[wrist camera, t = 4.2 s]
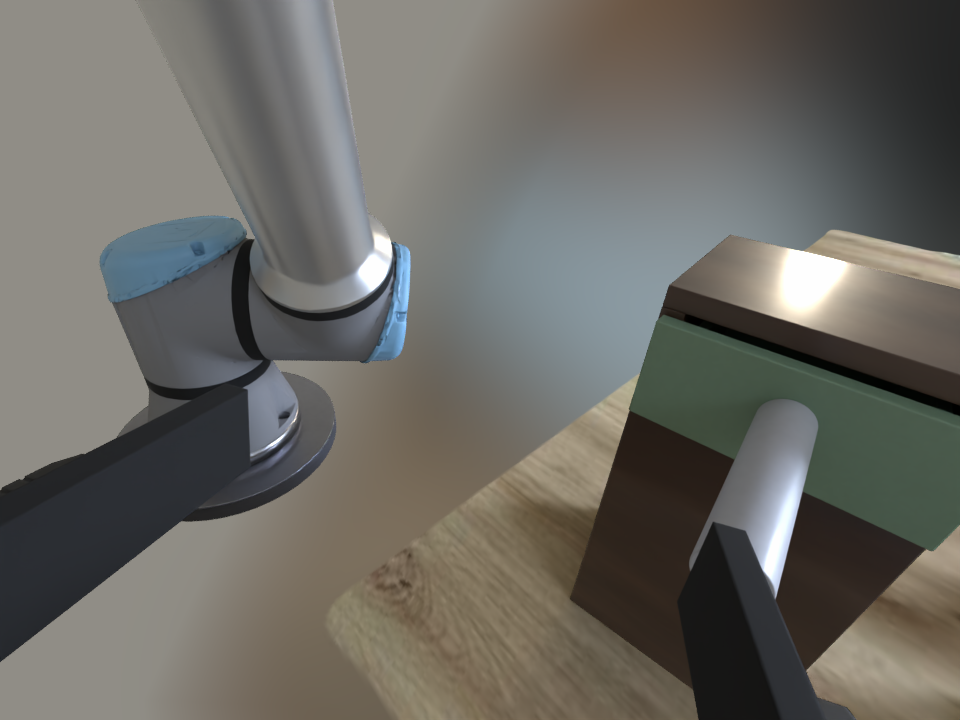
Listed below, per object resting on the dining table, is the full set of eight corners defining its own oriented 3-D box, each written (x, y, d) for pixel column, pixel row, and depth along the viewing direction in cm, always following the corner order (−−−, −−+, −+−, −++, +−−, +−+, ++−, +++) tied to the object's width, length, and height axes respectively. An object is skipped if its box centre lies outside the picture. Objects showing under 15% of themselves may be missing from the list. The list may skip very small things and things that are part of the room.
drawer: (691, 337, 34) (719, 261, 31) (922, 420, 27) (990, 333, 24) (530, 524, 19) (552, 416, 16) (947, 804, 12) (1130, 717, 9)
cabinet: (627, 511, 46) (730, 234, 31) (779, 599, 40) (1011, 301, 24) (569, 599, 38) (668, 284, 23) (747, 730, 31) (1067, 407, 16)
